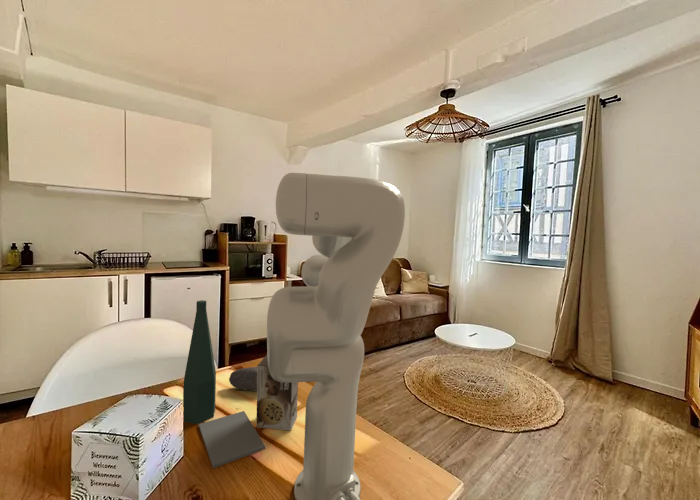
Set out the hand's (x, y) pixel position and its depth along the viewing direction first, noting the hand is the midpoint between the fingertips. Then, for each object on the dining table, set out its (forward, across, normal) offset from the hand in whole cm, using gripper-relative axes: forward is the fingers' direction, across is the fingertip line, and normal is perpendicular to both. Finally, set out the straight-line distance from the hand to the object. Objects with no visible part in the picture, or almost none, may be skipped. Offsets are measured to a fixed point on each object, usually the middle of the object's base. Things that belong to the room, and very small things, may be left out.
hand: (318, 366), depth 86 cm
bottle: (+12, -28, +13) cm, 33 cm away
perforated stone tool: (+12, -12, +19) cm, 25 cm away
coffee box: (+12, -12, 0) cm, 17 cm away
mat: (+12, -23, 0) cm, 26 cm away
